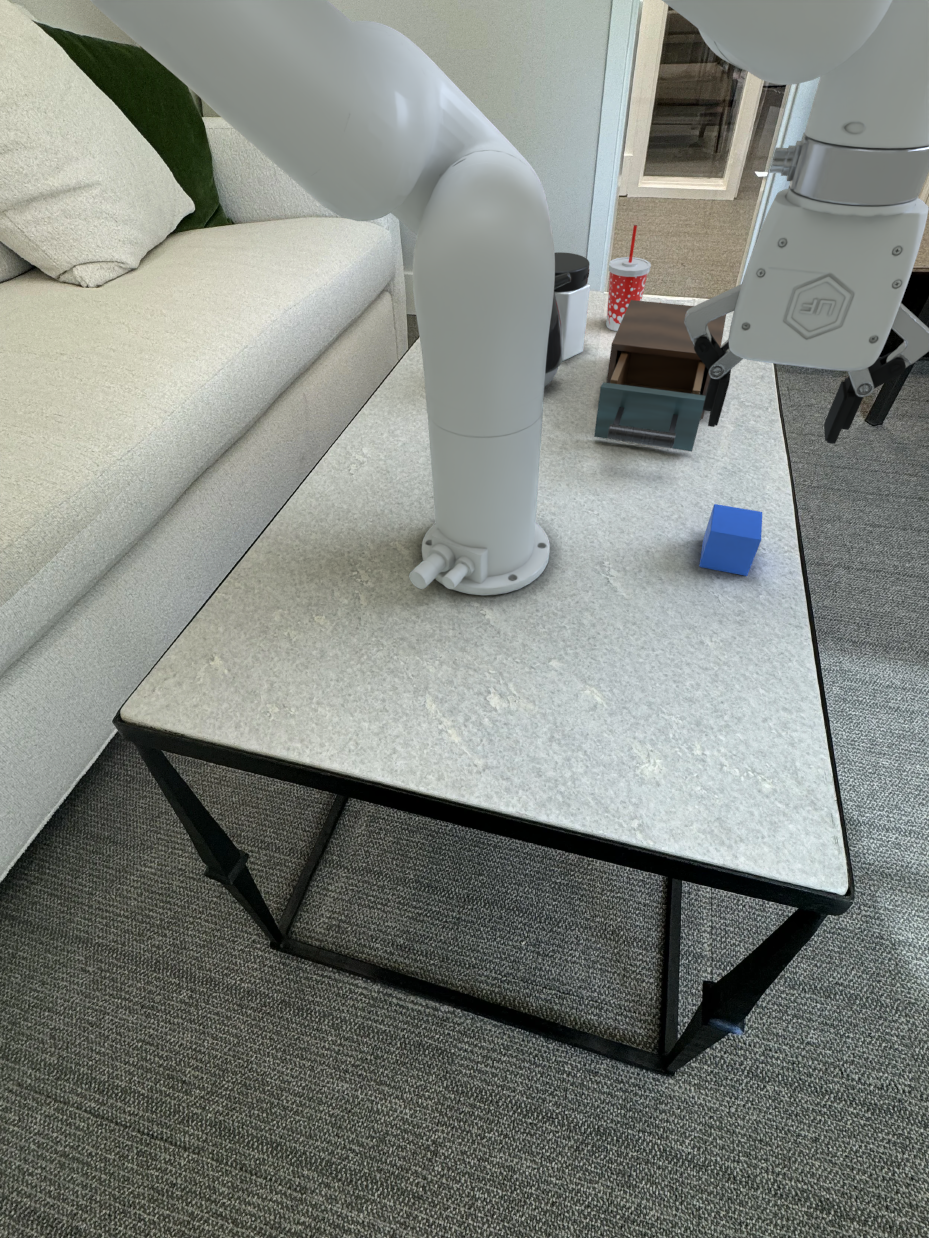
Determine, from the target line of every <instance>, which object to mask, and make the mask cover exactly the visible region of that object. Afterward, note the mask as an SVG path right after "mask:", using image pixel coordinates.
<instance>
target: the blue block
mask: <svg viewBox="0 0 929 1238" xmlns="http://www.w3.org/2000/svg"><path fill="white" fill-rule="evenodd" d="M762 531H763V511H759V510H752V509H748V508H741V507H736V506H735V507H734V506H731V505H723V504H719V503H714V504H713V506H712V509H711V513H710V515H709V519H708V522H707V525H706V529H705V532H704V535H703V539H702V545H701V551H700V558H699V564H698V565H699V568H703V569H709V570H714V571H719V572H724V573H729V574H734V575H739V576H744V577H748V575H749V573H750V570H751V568H752V565H753V562H754V560H755V558H756V554H757V552H758V551H759V548H760V544H761V542H762Z"/></svg>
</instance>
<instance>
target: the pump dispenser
mask: <svg viewBox="0 0 929 1238" xmlns="http://www.w3.org/2000/svg"><path fill="white" fill-rule="evenodd" d="M570 281H571V275H570V274H569V273H565V274H562V275H558V276H555V281H554V289H556V288H558V287H560V286H562V285H564V284H566V283H569V282H570ZM562 359H563V334H562V324H561V317H560V312H559V307H558V303H557V299H556V296H555V293H554V294H553V304H552V313H551V320H550V328H549V337H548V346H547V356H546V369H545V382H544V388H546V387H547V386H548V385H549V384H550V383H551V382H552V381H553V379H554V378H555V376H556V374H557V373H558V370H559V367H560V366H561V365H562V363H563V361H562Z"/></svg>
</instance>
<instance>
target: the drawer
mask: <svg viewBox="0 0 929 1238" xmlns="http://www.w3.org/2000/svg"><path fill="white" fill-rule="evenodd" d="M704 369H705V365H704V363H703V362H702V361H701V360H696V359H687V358H678V357H670V356H661V355H652V354H644V353H635V352H627V351H622V353H621V355H620V358H619V360H618V363H617V365H616V368H615V370H614V373H613V375H612V378H611V380H610V383H606V382H602V383H601V385H600V390H599V397H598V403H597V412H596V419H595V426H594V436H593V437H594V438H600V439H605V440H612V441H619V442H624V443H632V444H640V445H646V446H653V447H658V448H659V447H660V448H665V449H673V450H678V451H679V450H680V451H687V452H693V450H694V449H693V448H694V445H695V441H696V438H697V435H698V429H699V427H700V422H701V420H702V419H701V415H702V411H703V405H704V400H705V395H699V394H700V389H701V384H702V379H703V374H704Z"/></svg>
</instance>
